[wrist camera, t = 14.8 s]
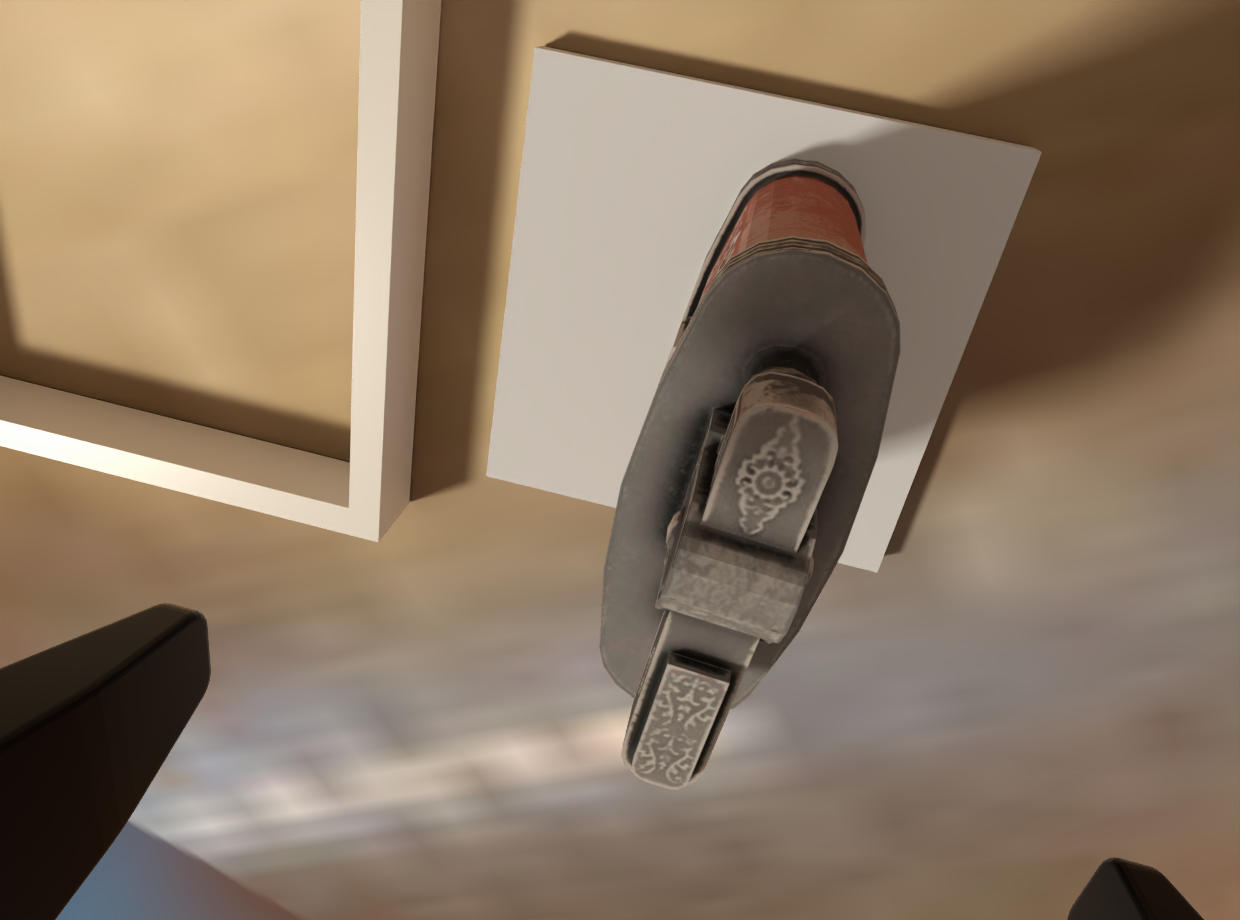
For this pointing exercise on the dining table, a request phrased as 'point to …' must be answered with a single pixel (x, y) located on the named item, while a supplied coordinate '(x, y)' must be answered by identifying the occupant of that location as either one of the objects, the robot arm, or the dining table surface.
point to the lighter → (746, 463)
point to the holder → (382, 333)
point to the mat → (678, 244)
